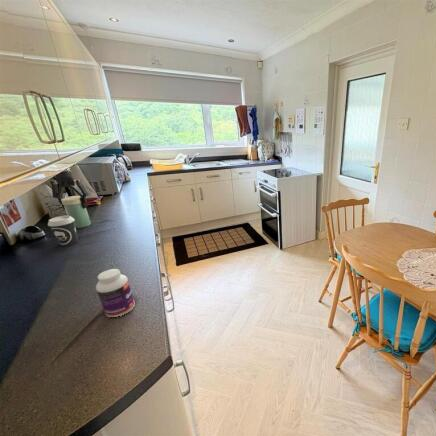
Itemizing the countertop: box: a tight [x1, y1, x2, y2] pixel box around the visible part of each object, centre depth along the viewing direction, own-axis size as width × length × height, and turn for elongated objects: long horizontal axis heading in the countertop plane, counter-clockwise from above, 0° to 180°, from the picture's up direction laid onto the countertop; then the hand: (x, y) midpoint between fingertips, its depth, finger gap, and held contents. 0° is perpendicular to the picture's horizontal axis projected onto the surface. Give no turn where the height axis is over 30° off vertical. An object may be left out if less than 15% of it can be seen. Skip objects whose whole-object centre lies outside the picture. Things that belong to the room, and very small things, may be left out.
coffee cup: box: [47, 215, 79, 247], centre depth 114 cm, size 10×10×15 cm
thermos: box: [64, 203, 92, 229], centre depth 138 cm, size 9×9×16 cm
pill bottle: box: [95, 268, 136, 318], centre depth 74 cm, size 8×8×14 cm
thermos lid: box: [61, 195, 81, 205], centre depth 135 cm, size 9×9×3 cm
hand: (75, 208), depth 137 cm, fingers closed on thermos lid, 9 cm apart
